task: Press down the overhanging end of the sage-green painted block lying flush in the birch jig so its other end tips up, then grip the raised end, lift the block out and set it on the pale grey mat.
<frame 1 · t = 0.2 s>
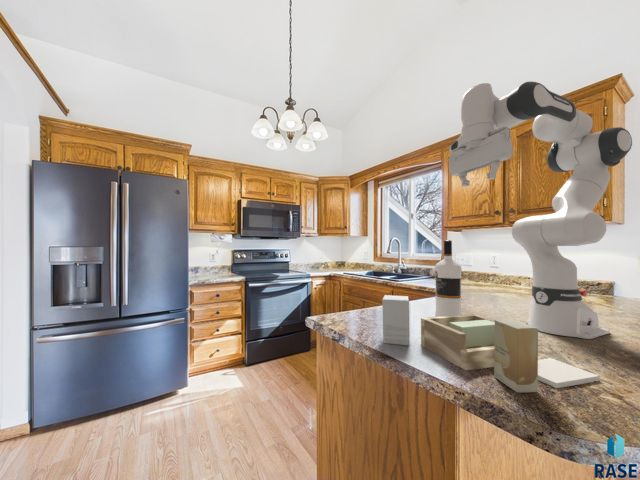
hand: (478, 182, 82), 47 cm above the countertop, tool pointing down, fingers open, 8 cm apart
vodka: (448, 327, 92), on the countertop
block: (475, 342, 69), point 2 cm above the countertop, touching jig
mat: (553, 374, 57), on the countertop
skincare box: (515, 385, 53), on the countertop
supplement box: (396, 341, 78), on the countertop
jig: (471, 352, 69), on the countertop
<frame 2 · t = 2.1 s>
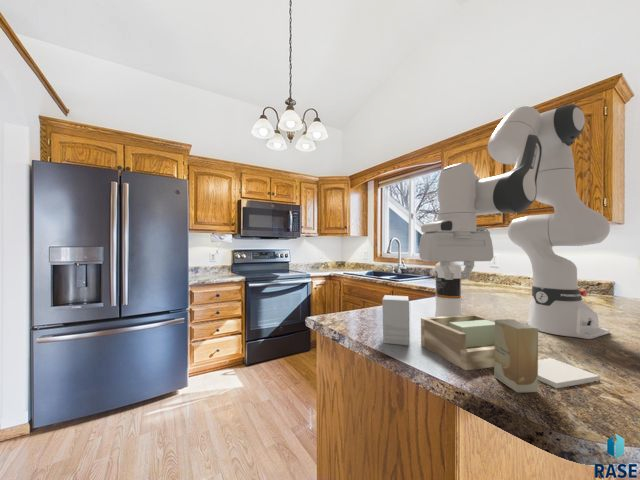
hand: (457, 279, 68), 19 cm above the countertop, tool pointing down, fingers open, 4 cm apart
nothing on the countertop moved.
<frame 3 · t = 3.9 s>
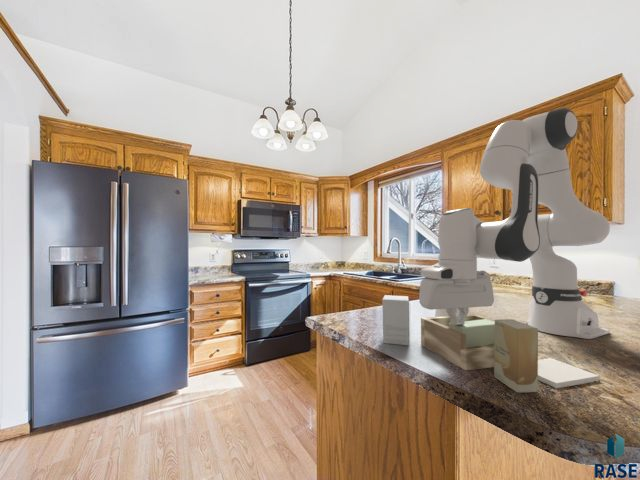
hand: (457, 325, 68), 7 cm above the countertop, tool pointing down, fingers closed
block: (475, 342, 69), point 3 cm above the countertop, touching gripper, jig
everything else where it was.
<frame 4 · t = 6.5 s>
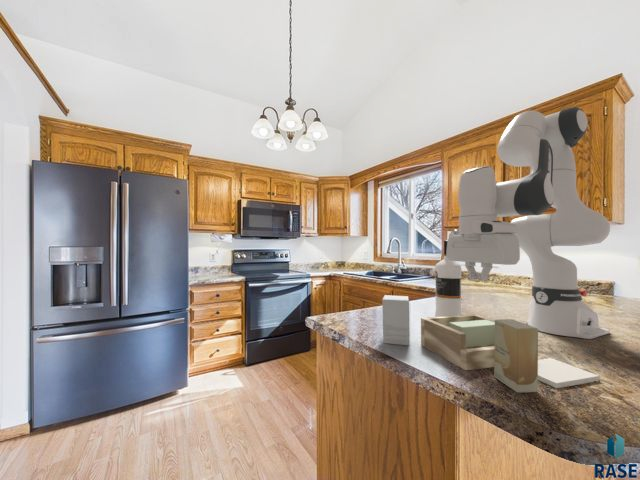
hand: (478, 279, 70), 19 cm above the countertop, tool pointing down, fingers closed
block: (475, 342, 69), point 2 cm above the countertop, touching jig
everything else where it was.
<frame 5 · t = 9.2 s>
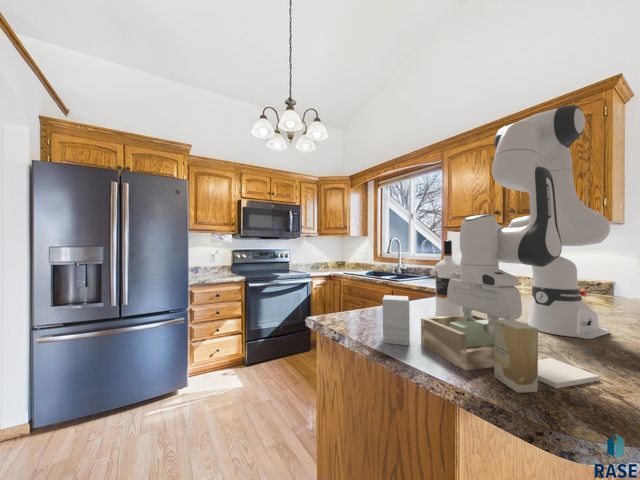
hand: (479, 328, 70), 6 cm above the countertop, tool pointing down, fingers closed on block, 4 cm apart
block: (475, 342, 69), point 2 cm above the countertop, touching gripper, jig
everything else where it was.
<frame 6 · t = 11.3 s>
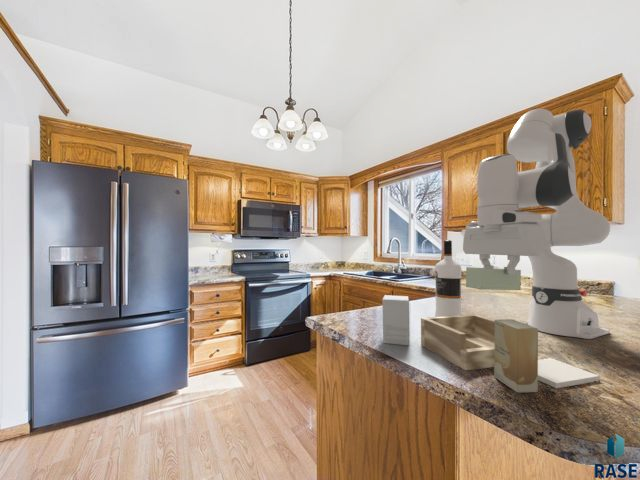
hand: (498, 273, 67), 21 cm above the countertop, tool pointing down, fingers closed on block, 4 cm apart
block: (492, 288, 66), point 17 cm above the countertop, touching gripper
everything else where it was.
when the fingers open (9 cm above the countertop, at t = 13.7 s): block drops 4 cm, resting on mat.
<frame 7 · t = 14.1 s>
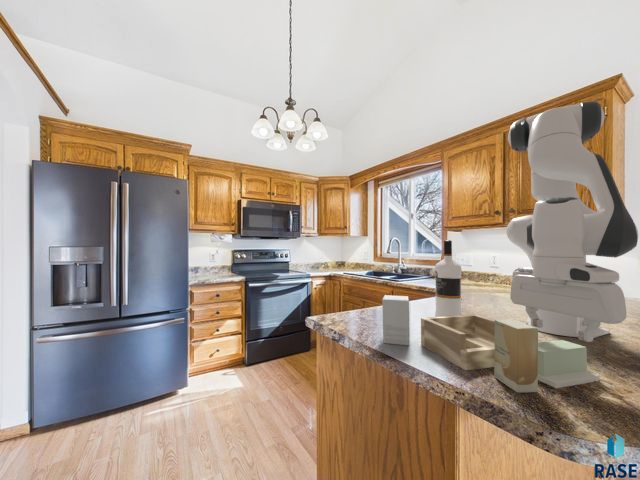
hand: (559, 333, 58), 9 cm above the countertop, tool pointing down, fingers open, 8 cm apart
block: (554, 368, 57), point 1 cm above the countertop, touching mat
everything else where it was.
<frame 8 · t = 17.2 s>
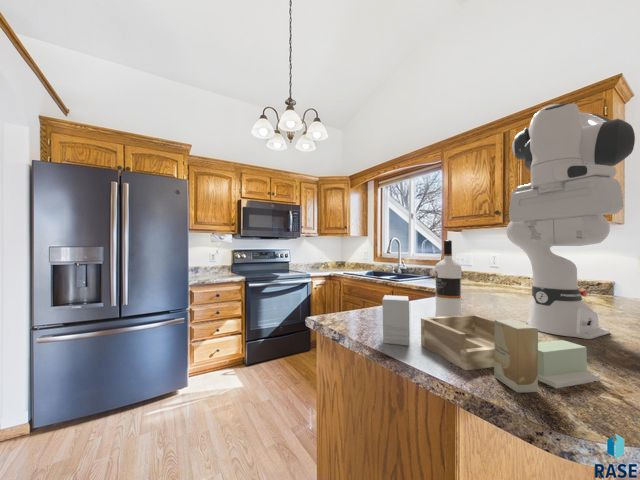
hand: (557, 239, 59), 29 cm above the countertop, tool pointing down, fingers open, 8 cm apart
nothing on the countertop moved.
at the end: block inside the target area (0.4 cm from its centre), point 1.0 cm above the countertop; block moved 15.7 cm from its start; the gripper is holding nothing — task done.
